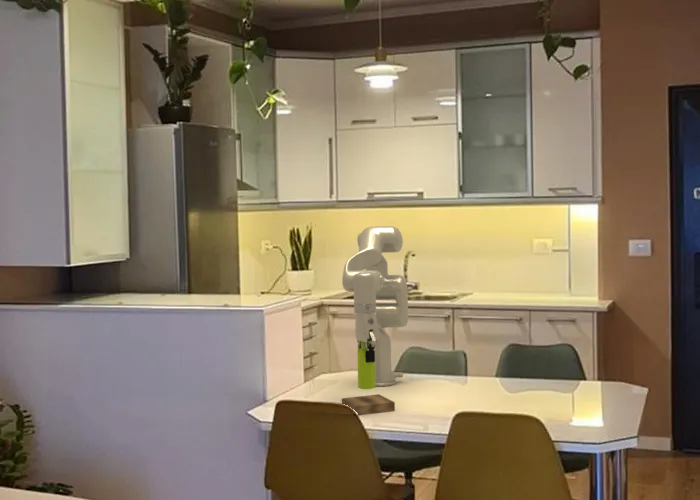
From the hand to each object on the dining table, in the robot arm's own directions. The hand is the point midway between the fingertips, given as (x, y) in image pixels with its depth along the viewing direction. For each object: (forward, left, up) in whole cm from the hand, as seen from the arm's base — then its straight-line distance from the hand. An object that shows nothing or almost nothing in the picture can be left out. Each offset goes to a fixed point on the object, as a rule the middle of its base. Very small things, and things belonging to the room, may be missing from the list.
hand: (366, 360), depth 308 cm
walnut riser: (0, 0, -17) cm, 17 cm away
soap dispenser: (0, 0, -10) cm, 10 cm away
